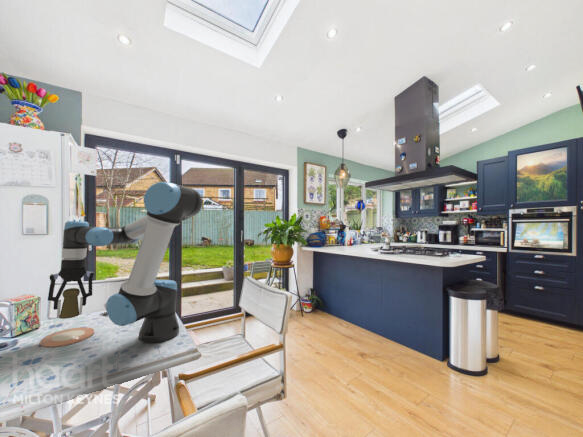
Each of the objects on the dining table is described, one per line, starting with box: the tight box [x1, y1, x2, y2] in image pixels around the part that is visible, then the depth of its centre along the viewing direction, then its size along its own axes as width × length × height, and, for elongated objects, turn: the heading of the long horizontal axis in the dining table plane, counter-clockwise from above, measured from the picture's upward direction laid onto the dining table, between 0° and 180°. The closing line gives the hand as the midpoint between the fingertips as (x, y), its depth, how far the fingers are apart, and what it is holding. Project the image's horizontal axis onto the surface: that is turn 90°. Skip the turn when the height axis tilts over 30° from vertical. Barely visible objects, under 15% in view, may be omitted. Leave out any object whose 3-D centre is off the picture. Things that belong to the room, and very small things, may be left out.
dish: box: [39, 326, 95, 348], centre depth 97 cm, size 16×16×1 cm
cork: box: [58, 287, 81, 320], centre depth 97 cm, size 6×6×11 cm
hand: (69, 315), depth 97 cm, fingers closed on cork, 6 cm apart
